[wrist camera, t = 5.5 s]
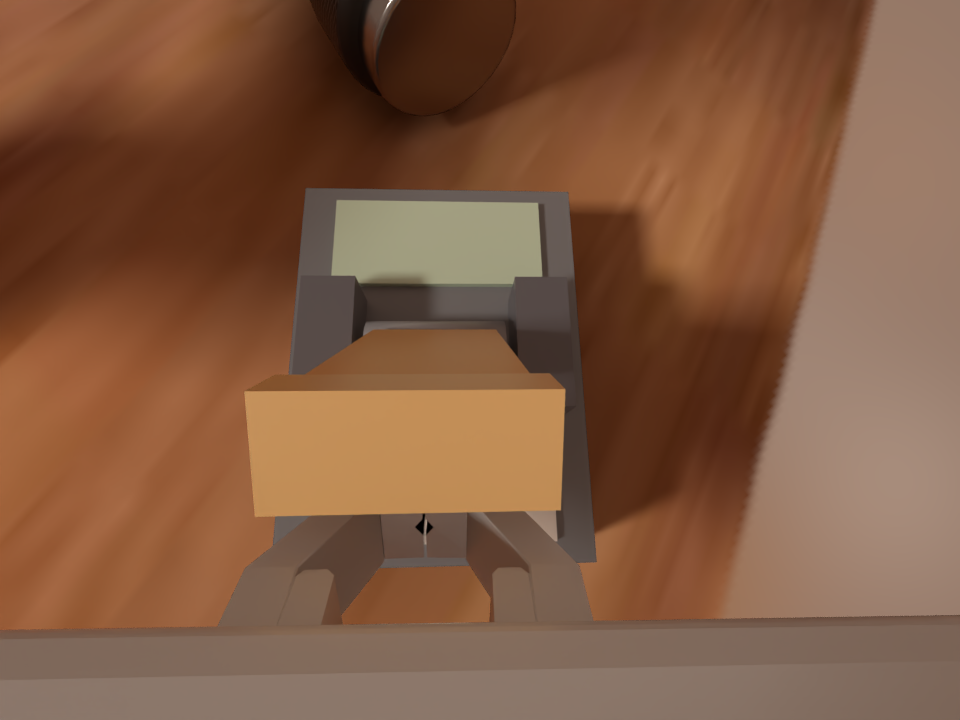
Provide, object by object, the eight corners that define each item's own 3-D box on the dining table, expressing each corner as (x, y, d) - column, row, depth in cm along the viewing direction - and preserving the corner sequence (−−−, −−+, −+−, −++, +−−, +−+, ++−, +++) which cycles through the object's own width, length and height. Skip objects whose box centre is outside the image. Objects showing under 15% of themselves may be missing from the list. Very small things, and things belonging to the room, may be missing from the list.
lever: (501, 367, 19) (572, 510, 8) (373, 368, 19) (241, 517, 7) (501, 319, 19) (578, 388, 7) (371, 319, 19) (230, 391, 7)
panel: (566, 547, 23) (618, 573, 15) (311, 553, 22) (240, 584, 15) (547, 245, 27) (582, 155, 20) (333, 243, 26) (286, 149, 19)
